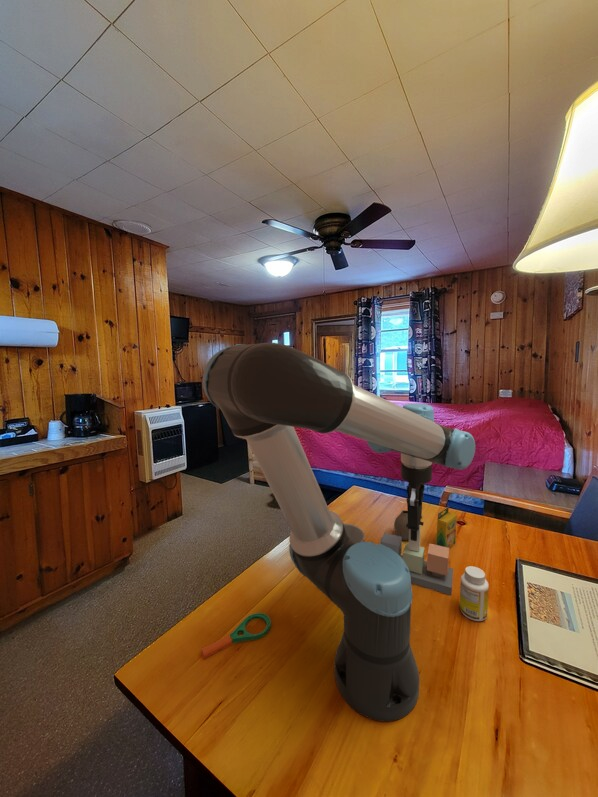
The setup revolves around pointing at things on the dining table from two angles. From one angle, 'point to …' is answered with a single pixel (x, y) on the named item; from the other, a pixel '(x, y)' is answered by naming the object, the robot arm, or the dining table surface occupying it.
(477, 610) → the supplement bottle
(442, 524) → the crayon box
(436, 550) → the button terracotta
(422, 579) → the button board
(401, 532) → the vase
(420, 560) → the button sage
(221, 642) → the magnifying glass
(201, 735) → the dining table surface
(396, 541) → the button slate
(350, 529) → the teacup
